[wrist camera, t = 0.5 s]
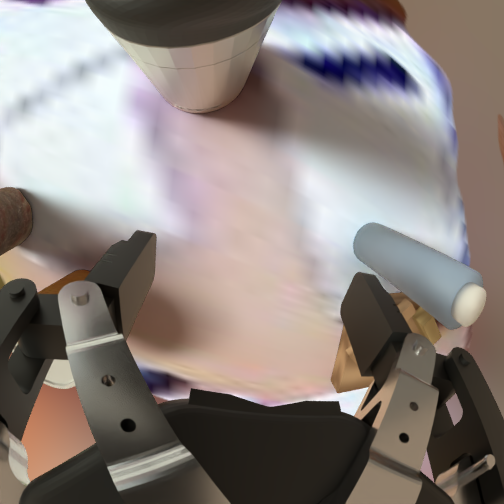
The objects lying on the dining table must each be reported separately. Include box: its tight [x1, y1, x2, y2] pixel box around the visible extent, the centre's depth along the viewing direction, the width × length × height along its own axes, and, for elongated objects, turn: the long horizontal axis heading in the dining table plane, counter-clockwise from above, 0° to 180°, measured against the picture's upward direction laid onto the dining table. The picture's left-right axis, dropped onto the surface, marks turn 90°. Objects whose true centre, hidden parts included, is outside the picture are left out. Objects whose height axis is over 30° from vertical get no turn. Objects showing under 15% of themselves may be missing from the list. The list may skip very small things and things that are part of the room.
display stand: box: [331, 292, 441, 393], centre depth 34 cm, size 15×15×6 cm
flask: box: [353, 223, 486, 330], centre depth 24 cm, size 5×5×17 cm
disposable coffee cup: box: [12, 270, 90, 389], centre depth 24 cm, size 10×10×12 cm
